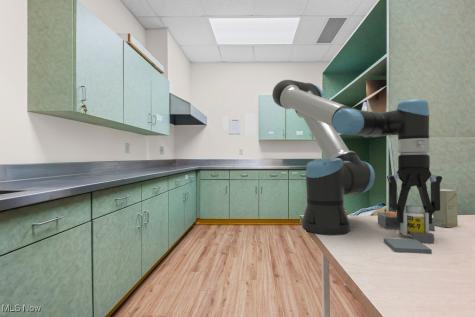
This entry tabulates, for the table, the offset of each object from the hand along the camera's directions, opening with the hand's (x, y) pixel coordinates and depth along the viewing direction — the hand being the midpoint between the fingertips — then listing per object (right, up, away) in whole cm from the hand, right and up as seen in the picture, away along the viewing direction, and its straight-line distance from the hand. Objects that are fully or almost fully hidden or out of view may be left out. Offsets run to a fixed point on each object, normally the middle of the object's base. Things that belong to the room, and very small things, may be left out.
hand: (414, 234), depth 74 cm
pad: (-8, -1, -8) cm, 11 cm away
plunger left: (+1, 0, +13) cm, 13 cm away
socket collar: (0, -1, 0) cm, 1 cm away
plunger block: (+5, -1, +12) cm, 13 cm away
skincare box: (+19, -1, +13) cm, 23 cm away
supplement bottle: (0, -1, 0) cm, 1 cm away
